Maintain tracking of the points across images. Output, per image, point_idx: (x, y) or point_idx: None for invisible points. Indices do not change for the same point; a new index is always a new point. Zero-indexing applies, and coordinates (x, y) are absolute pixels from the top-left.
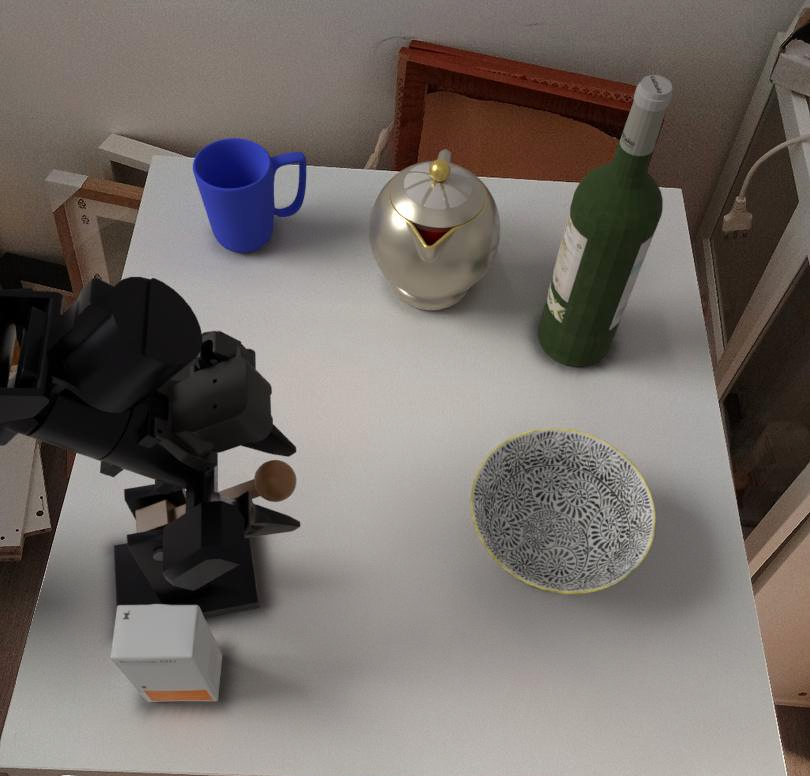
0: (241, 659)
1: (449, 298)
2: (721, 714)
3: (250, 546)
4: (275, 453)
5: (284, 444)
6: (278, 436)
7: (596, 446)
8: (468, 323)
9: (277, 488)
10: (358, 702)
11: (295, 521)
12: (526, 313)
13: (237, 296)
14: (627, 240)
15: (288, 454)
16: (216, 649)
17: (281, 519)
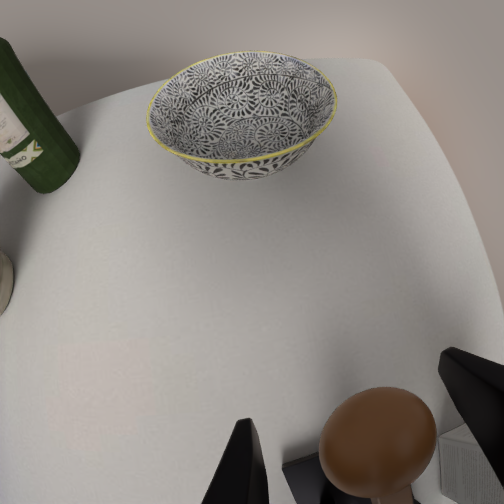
0: (439, 416)
1: (5, 264)
2: (351, 70)
3: (316, 456)
4: (264, 466)
5: (253, 451)
6: (241, 474)
7: (168, 89)
8: (27, 250)
9: (432, 421)
10: (450, 287)
11: (458, 355)
12: (30, 207)
13: (12, 469)
14: (8, 52)
15: (257, 435)
16: (464, 436)
17: (500, 371)
